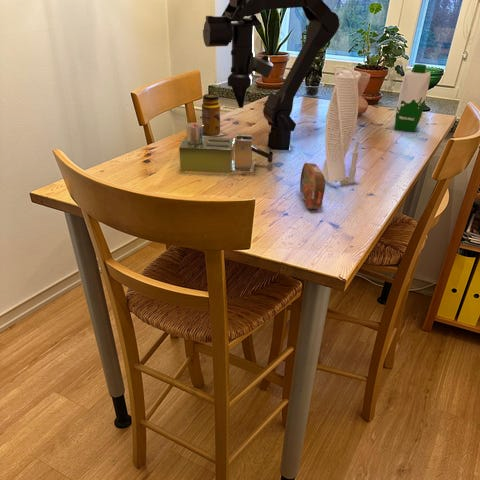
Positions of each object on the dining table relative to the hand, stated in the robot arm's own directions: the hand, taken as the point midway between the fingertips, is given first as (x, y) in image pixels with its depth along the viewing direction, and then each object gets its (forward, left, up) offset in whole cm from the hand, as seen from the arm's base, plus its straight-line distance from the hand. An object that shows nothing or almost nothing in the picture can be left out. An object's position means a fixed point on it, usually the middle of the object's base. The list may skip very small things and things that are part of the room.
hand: (241, 107), depth 134 cm
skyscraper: (-27, +19, -13) cm, 36 cm away
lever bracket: (-2, +14, -13) cm, 19 cm away
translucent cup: (+12, +14, -6) cm, 19 cm away
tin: (-20, +34, -13) cm, 42 cm away
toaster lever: (-5, +14, -9) cm, 17 cm away
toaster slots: (+5, +14, -6) cm, 16 cm away
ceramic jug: (-38, -52, -13) cm, 66 cm away
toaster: (+8, +14, -13) cm, 21 cm away
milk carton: (-57, -35, -13) cm, 68 cm away
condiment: (+12, -18, -13) cm, 25 cm away
